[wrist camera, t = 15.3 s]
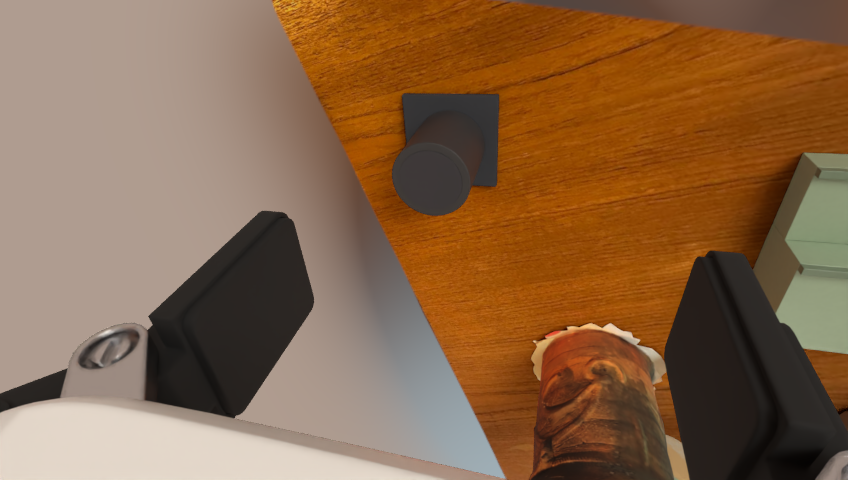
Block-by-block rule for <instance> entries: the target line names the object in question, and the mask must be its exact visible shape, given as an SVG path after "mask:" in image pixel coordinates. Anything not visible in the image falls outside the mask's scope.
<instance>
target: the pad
mask: <svg viewBox="0 0 848 480" xmlns="http://www.w3.org/2000/svg"><path fill="white" fill-rule="evenodd" d="M402 101H403V111H404V122H405V133H406V143H408V142H409V140H410V139H411V138H412V136H413V135H414V134H415V132H416V131H417V130H418V129H419V127H420V126H421V125H422V123H423V122H424V121H425V120H426V119H427V118H428V117H429V116H431V115H432V114H434V113H437V112H440V111H447V110H450V111H457V112H460V113H463V114H465V115H467V116H468V117H470V118H471V119H472V120H474V121H475V122H476V124H477V125H478V126H479V128H480V129H481V131H482V133H483V136H484V140H485V152H484V155H483V158H482V161H481V163H480V166H479V169H478V171H477V174H476V177H475V179H474V182H473V184H472V185H477V186H493V187H496V185H497V157H498V117H499V94H403V95H402Z"/></svg>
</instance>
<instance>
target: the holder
mask: <svg viewBox="0 0 848 480" xmlns="http://www.w3.org/2000/svg"><path fill="white" fill-rule="evenodd" d="M484 152H485V140H484V136H483V133H482V131H481V129H480V128H479V126H478V125H477V124H476V122H475V121H474V120H472V119H471V118H470V117H468V116H467V115H465V114H463V113H460V112H457V111H450V110H447V111H440V112H437V113H434V114H432V115H431V116H429V117H428V118H427V119H426V120H425V121H424V122H423V123H422V125H421V126H420V127H419V129H418V130H417V131H416V132H415V134H414V135H413V136H412V138H411V139H410V140H409V142H408V143H407V144H406V146H405V147H404V148H403V150H402V151H401V152H400V154H399V155H398V157H397V158H396V160H395V162H394V165H393V169H392V179H393V184H394V187H395V189H396V192H397V193H398V195H399V197H400V198H401V199H402V200H403V201H404V202H405V203H406V204H407V205H408V206H409V207H411V208H412V209H414V210H416V211H418V212H420V213H423V214H427V215H435V216H438V215H445V214H448V213H451V212H453V211H455V210H457V209H458V208H459V207H461V206H462V205H463V203H464V202H465V201H466V199H467V197H468V195H469V192H470V190H471V187H472V184H473V182H474V179H475V177H476V174H477V171H478V169H479V166H480V163H481V161H482V158H483V155H484Z"/></svg>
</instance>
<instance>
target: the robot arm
mask: <svg viewBox="0 0 848 480" xmlns="http://www.w3.org/2000/svg"><path fill="white" fill-rule="evenodd" d="M313 304H314V297H313V292H312V289H311V285H310V281H309V277H308V274H307V270H306V266H305V262H304V259H303V255H302V251H301V248H300V244H299V240H298V236H297V233H296V229H295V225H294V222H293V221H292V220H291V219H289V218H288V216H287V215H286V214H285V213H283V212H272V211H261V212H260V213H258V214H257V215H256V216H255V217H254V218H253V219H252V220H251V221H250V222H249V223H248V224H247V225H245V226H244V227H243V228H242V229H241V230H240V231H239V232H238V233H237V234H236V235H235V236H234V237H233V238H232V239H231V240H230V241H228V242H227V243H226V244H225V245H224V246H223V247H222V248H221V249H220V250H219V251H218V252H217V253H215V255H213V256H212V257H211V258H210V259H209V260H208V261H207V262H206V263H205V264H204V265H203V266H202V267H201V268H200V269H198V270H197V271H196V272H195V273H194V274H193V275H192V276H191V277H190V278H189V279H188V280H187V281H185V282H184V283H183V284H182V285H181V286H180V287H179V288H178V289H177V290H176V291H175V292H174V293H173V294H172V295H171V296H169V297H168V298H167V299H166V300H165V301H164V302H163V303H162V304H161V305H160V306H159V307H158V308H157V309H156V310H154V311H153V312H152V313H151V314H150V315H149V316H148V317H149V318H150V320H151V322H152V324H153V325H152V326H151V327H150V329H148V330H147V329H145V328H144V327H143V326H142V325H140V324H136V323H123V324H119V325H114V326H111V327H109V328H106V329H104V330H101V331H99V332H98V333H96V334H94V335H92V336H91V337H89V338H88V339H87V340H85V341H84V342H83V343H82V344H80V346H79V347H78V348H77V349H76V350H75V351H74V353H73V355H72V357H71V359H70V361H69V365H68V368H67V369H65V370H62V371H59V372H57V373H54V374H51V375H49V376H46V377H43V378H41V379H38V380H35V381H33V382H30V383H27V384H25V385H22V386H19V387H17V388H14V389H11V390H9V391H6V392H3V393H1V394H0V480H507V479H503V478H499V477H494V476H490V475H485V474H480V473H477V472H472V471H468V470H464V469H459V468H455V467H450V466H446V465H442V464H437V463H433V462H428V461H424V460H419V459H415V458H411V457H406V456H402V455H397V454H393V453H388V452H384V451H379V450H375V449H370V448H366V447H362V446H357V445H353V444H348V443H343V442H339V441H334V440H330V439H326V438H321V437H316V436H312V435H308V434H303V433H299V432H294V431H289V430H285V429H280V428H276V427H271V426H266V425H262V424H257V423H253V422H248V421H243V420H239V419H234V418H235V416H236V415H239V414H241V413H242V412H243V411H244V410H245V409H246V407H247V406H248V405H249V403H250V402H251V400H252V399H253V397H254V396H255V394H256V393H257V391H258V389H259V388H260V387H261V385H262V384H263V382H264V381H265V379H266V378H267V376H268V375H269V373H270V372H271V370H272V368H273V367H274V366H275V364H276V362H277V361H278V360H279V358H280V357H281V355H282V353H283V352H284V351H285V349H286V348H287V346H288V345H289V343H290V342H291V340H292V339H293V337H294V336H295V334H296V332H297V331H298V330H299V328H300V327H301V325H302V323H303V322H304V321H305V319H306V318H307V316H308V315H309V313H310V312H311V310H312V308H313ZM664 360H665V366H666V371H667V376H668V380H669V385H670V390H671V394H672V399H673V404H674V409H675V413H676V418H677V423H678V427H679V432H680V437H681V441H682V446H683V451H684V456H685V460H686V465H687V470H688V474H689V479H690V480H848V431H847V429H846V427H845V425H844V423H843V422H842V420H841V418H840V416H839V414H838V412H837V410H836V409H835V407H834V405H833V403H832V401H831V399H830V398H829V396H828V394H827V392H826V390H825V388H824V387H823V385H822V383H821V381H820V379H819V377H818V376H817V374H816V372H815V370H814V368H813V366H812V364H811V363H810V361H809V359H808V357H807V355H806V353H805V352H804V350H803V348H802V346H801V344H800V342H799V341H798V339H797V337H796V335H795V333H794V332H793V330H792V329H791V328H790V326H788V325H786V324H785V323H780V322H779V320H778V318H777V316H776V314H775V312H774V310H773V308H772V306H771V304H770V303H769V301H768V299H767V297H766V295H765V293H764V291H763V289H762V287H761V285H760V283H759V281H758V279H757V278H756V276H755V274H754V272H753V270H752V268H751V266H750V264H749V262H748V260H747V258H746V257H745V255H744V254H741V253H732V252H721V251H709V252H708V253H707V254H706V256H705V257H697V258H696V260H695V262H694V265H693V268H692V270H691V273H690V276H689V279H688V282H687V285H686V288H685V291H684V294H683V297H682V300H681V302H680V305H679V308H678V311H677V314H676V317H675V320H674V323H673V326H672V329H671V332H670V334H669V337H668V340H667V343H666V346H665V352H664Z"/></svg>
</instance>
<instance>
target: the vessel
mask: <svg viewBox="0 0 848 480" xmlns="http://www.w3.org/2000/svg"><path fill="white" fill-rule="evenodd" d="M567 328H568V330H566V331H554V332H552V333H550V334H548V335H545V337H546V339H544V340H542V341H538V342H536V341H535V340H534V341H533V342H534V343H535V344H536V346H537V348H536V349H535V351H534V353H533V355H532V357H531V360H532V362H533V363H534V364H535V366H534V367H533V371H534V374H535V375H536V376H537V378H538V380H540V392H539V396H538V408H537V422H536V426H535V428H534V462H533V472H532V474H531V476H530V478H529V480H674V476H673V471H672V467H671V463H670V459H669V456H668V451H667V442H666V436H665V430H664V424H663V421H662V418H661V415H660V411H659V408H658V405H657V402H656V398H655V392H654V390H655V389H656V388H655V387H653V384H656V383H659V382H662V379H661V376H662V375H663V374H664V373H665V372H666V366H665V362H664V361H663V359H662V358H661V356H660V355H659V354H658V353H657V352H656V351H654V350H653V349H651V348H648V347H643V346H638V345H637V343H638V342H639V341H640V340H639V339H636V338H633V336H632V333H630V332H627V331H622V330H620V329H618V328H617V327H615V326H614V325H613V324H611V323H610V324H608V325H606V326H604V327H603V328H601V327H599V326H597V325H595V324H592V323H589V324H586V325H583V326H581V327H575V326H570V327H567Z"/></svg>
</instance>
